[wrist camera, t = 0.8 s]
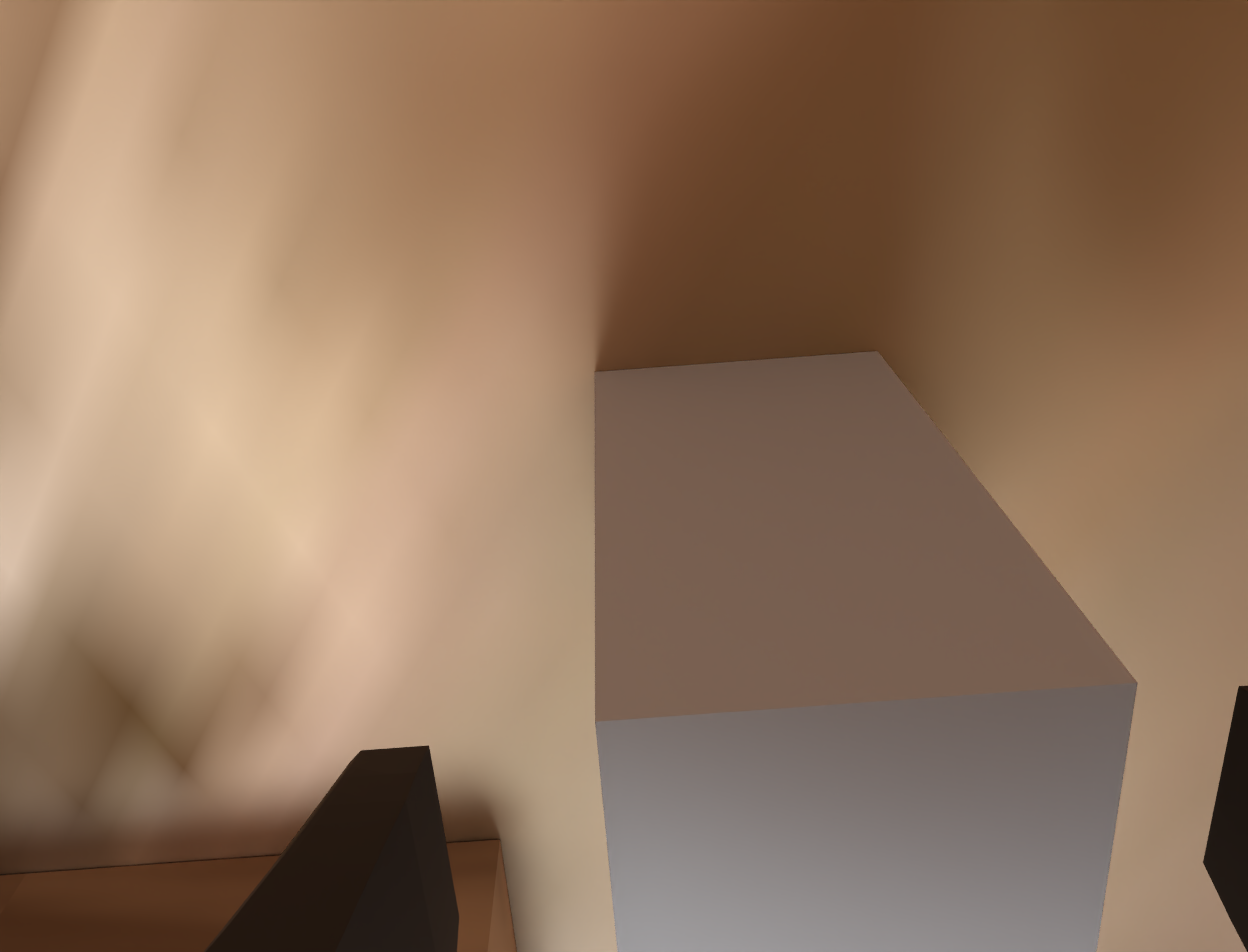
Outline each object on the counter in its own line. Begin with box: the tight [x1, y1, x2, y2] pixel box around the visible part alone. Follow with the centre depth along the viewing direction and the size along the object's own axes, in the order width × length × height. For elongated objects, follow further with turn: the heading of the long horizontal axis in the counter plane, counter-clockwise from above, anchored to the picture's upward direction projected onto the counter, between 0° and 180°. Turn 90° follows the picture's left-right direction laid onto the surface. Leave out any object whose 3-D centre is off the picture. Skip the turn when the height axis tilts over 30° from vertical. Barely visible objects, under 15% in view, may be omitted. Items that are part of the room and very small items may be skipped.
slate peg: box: [595, 351, 1137, 952], centre depth 12 cm, size 4×4×8 cm
